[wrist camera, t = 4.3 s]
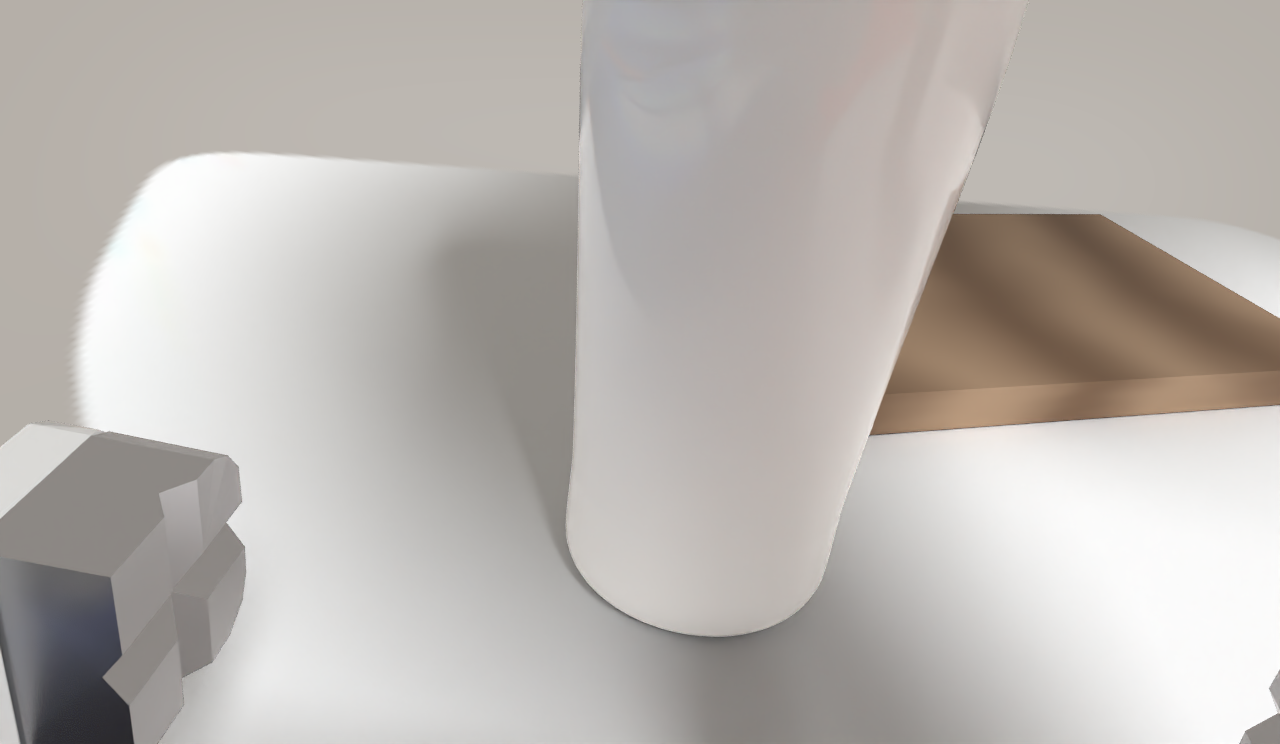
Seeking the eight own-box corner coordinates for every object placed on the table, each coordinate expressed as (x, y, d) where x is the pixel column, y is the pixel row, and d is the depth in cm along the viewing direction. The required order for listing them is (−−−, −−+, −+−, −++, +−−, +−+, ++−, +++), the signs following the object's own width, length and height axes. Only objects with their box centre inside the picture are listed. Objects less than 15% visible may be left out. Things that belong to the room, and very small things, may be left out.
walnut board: (1090, 243, 43) (1100, 214, 43) (1343, 399, 33) (1361, 365, 33) (664, 246, 37) (668, 213, 37) (820, 438, 27) (830, 397, 27)
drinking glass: (553, 447, 26) (633, -298, 18) (840, 491, 25) (1034, -240, 18) (496, 649, 20) (581, -336, 12) (870, 708, 20) (1174, -249, 12)
